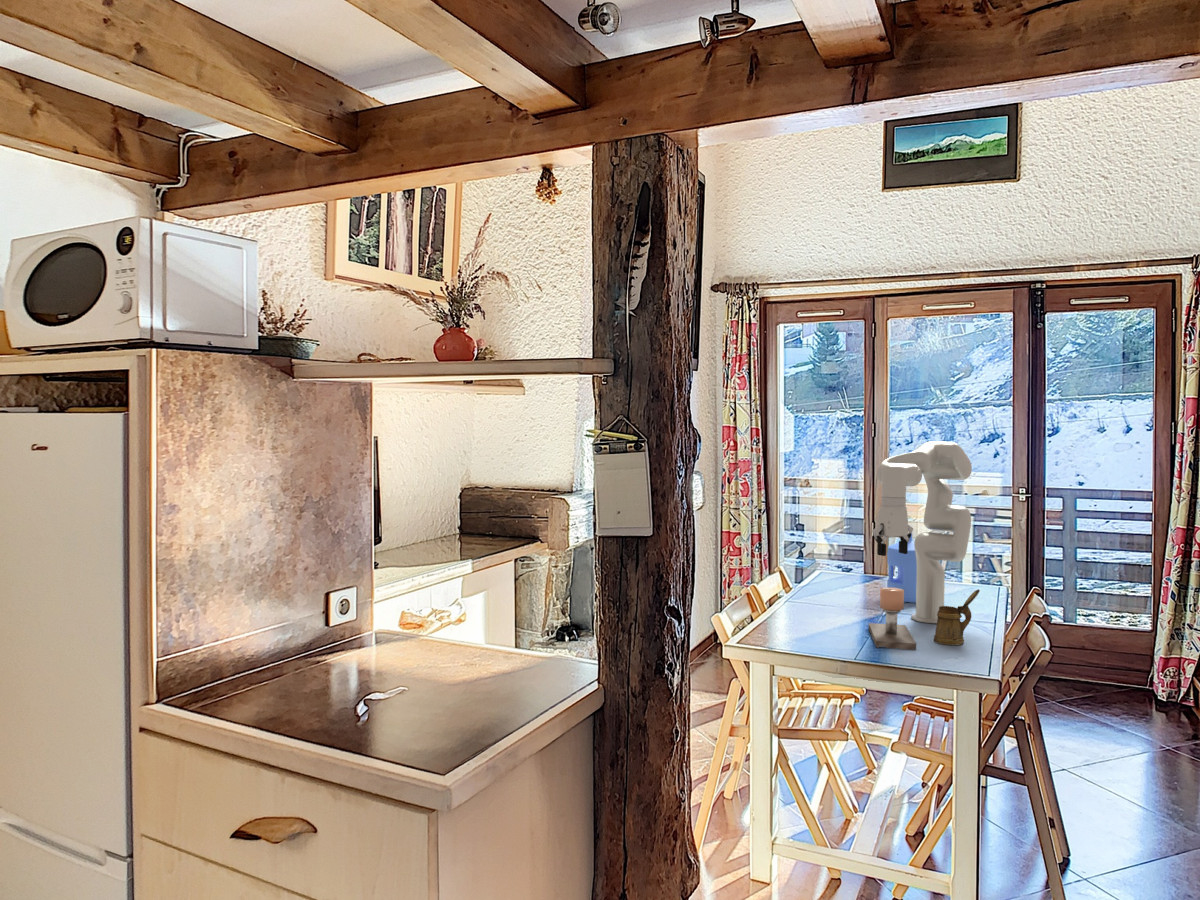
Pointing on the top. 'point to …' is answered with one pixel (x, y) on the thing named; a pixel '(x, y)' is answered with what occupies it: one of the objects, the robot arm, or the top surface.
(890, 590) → the cap
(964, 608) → the wooden mug
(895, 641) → the base board
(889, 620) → the threaded post
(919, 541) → the robot arm
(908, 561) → the water jug
